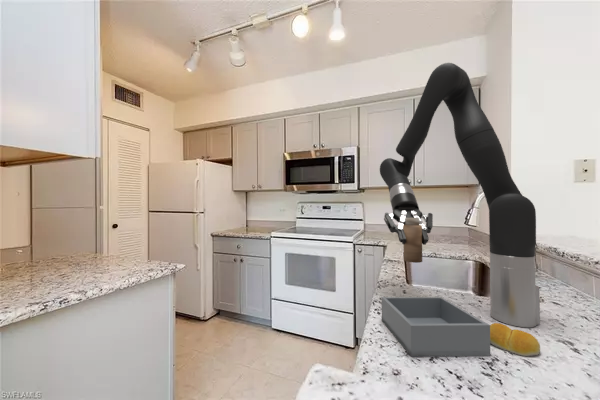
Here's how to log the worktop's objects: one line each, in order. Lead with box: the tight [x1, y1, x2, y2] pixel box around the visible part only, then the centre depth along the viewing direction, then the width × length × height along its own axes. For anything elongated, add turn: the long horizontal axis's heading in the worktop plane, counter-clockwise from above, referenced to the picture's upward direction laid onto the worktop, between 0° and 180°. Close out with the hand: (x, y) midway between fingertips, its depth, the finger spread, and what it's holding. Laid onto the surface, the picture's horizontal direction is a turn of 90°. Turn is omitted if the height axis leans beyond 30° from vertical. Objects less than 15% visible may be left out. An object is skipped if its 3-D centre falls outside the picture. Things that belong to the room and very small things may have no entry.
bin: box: [381, 296, 491, 358], centre depth 58 cm, size 16×16×6 cm
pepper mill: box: [402, 218, 423, 263], centre depth 71 cm, size 5×5×12 cm
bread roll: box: [489, 322, 541, 357], centre depth 54 cm, size 8×9×4 cm
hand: (414, 242), depth 69 cm, fingers closed on pepper mill, 4 cm apart
